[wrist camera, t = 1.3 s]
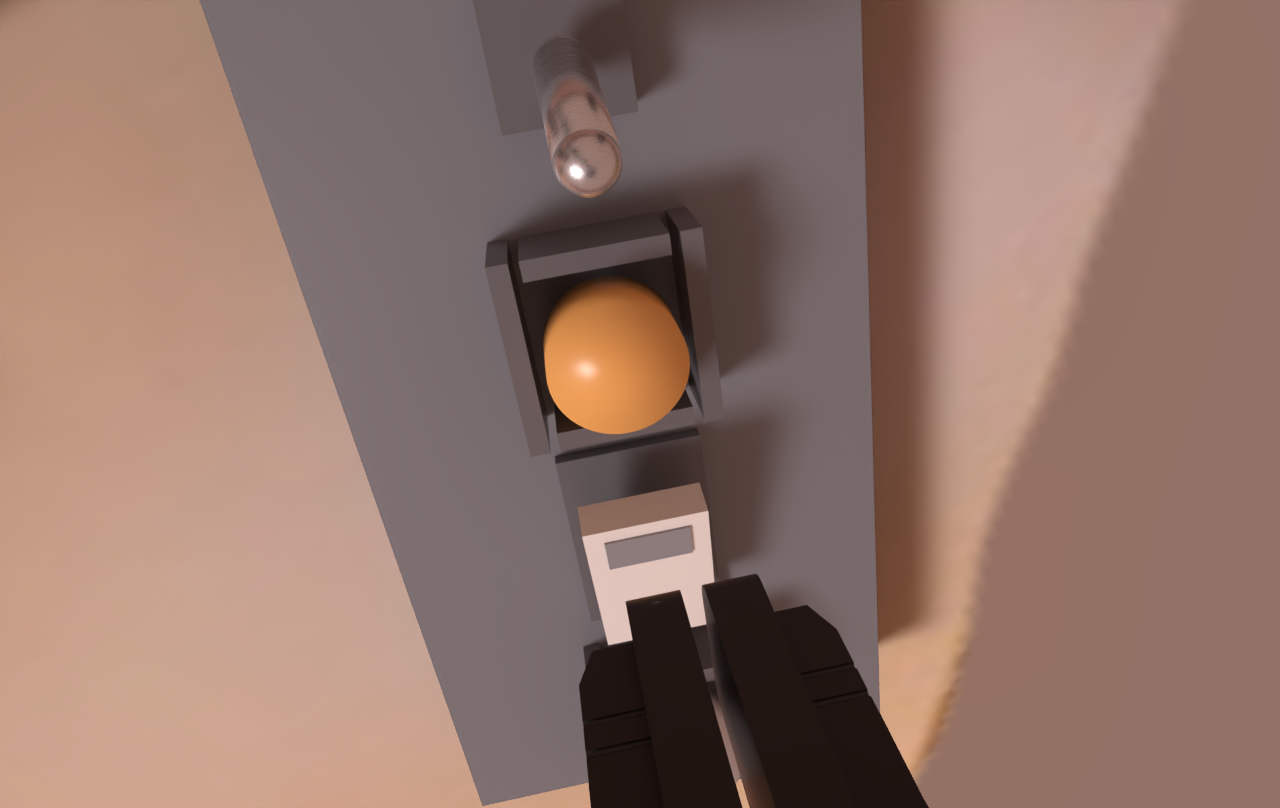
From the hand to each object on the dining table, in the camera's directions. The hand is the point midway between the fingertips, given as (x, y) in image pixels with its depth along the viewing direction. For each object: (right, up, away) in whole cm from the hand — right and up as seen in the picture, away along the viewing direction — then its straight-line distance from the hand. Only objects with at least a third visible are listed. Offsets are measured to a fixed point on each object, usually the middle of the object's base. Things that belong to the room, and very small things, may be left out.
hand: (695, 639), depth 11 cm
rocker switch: (0, -1, +12) cm, 12 cm away
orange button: (-1, +5, +9) cm, 11 cm away
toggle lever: (-2, +10, +6) cm, 12 cm away
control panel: (-2, +4, +15) cm, 15 cm away
